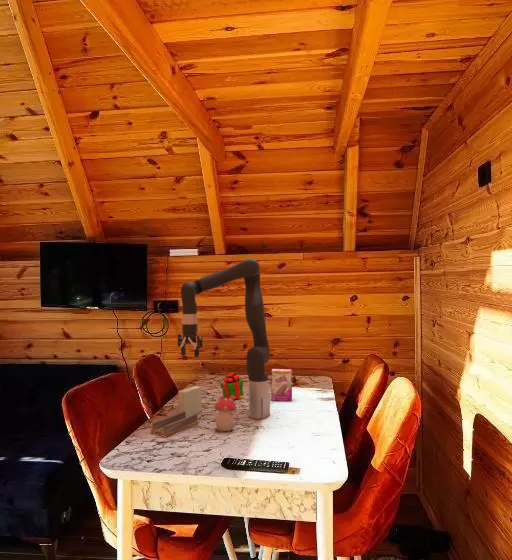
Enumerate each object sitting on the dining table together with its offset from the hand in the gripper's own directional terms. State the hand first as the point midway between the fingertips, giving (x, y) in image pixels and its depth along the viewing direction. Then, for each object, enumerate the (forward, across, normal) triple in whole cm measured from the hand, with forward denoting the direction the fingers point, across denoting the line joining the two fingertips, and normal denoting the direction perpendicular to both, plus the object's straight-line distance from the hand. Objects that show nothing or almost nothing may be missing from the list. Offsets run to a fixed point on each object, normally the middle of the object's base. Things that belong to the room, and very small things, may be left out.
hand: (189, 356), depth 202 cm
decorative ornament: (+28, -28, +8) cm, 41 cm away
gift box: (+28, -3, -32) cm, 43 cm away
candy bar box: (+28, -26, -44) cm, 58 cm away
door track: (+28, -9, +19) cm, 35 cm away
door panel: (+28, 0, 0) cm, 28 cm away
